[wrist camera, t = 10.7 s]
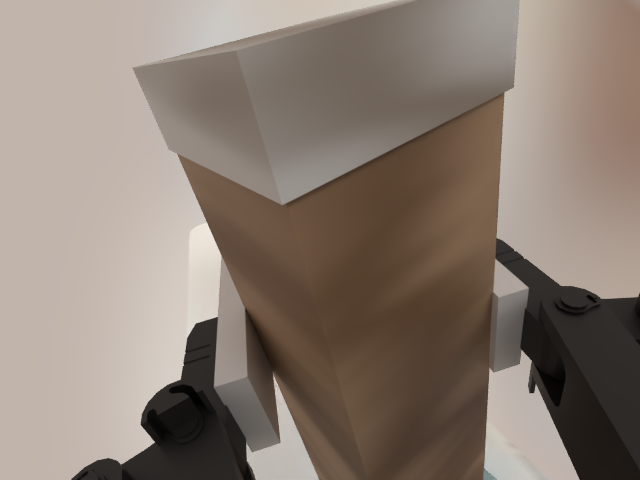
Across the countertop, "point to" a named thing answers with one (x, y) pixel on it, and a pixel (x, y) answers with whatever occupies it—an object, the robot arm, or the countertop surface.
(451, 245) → the walnut plug
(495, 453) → the countertop surface
